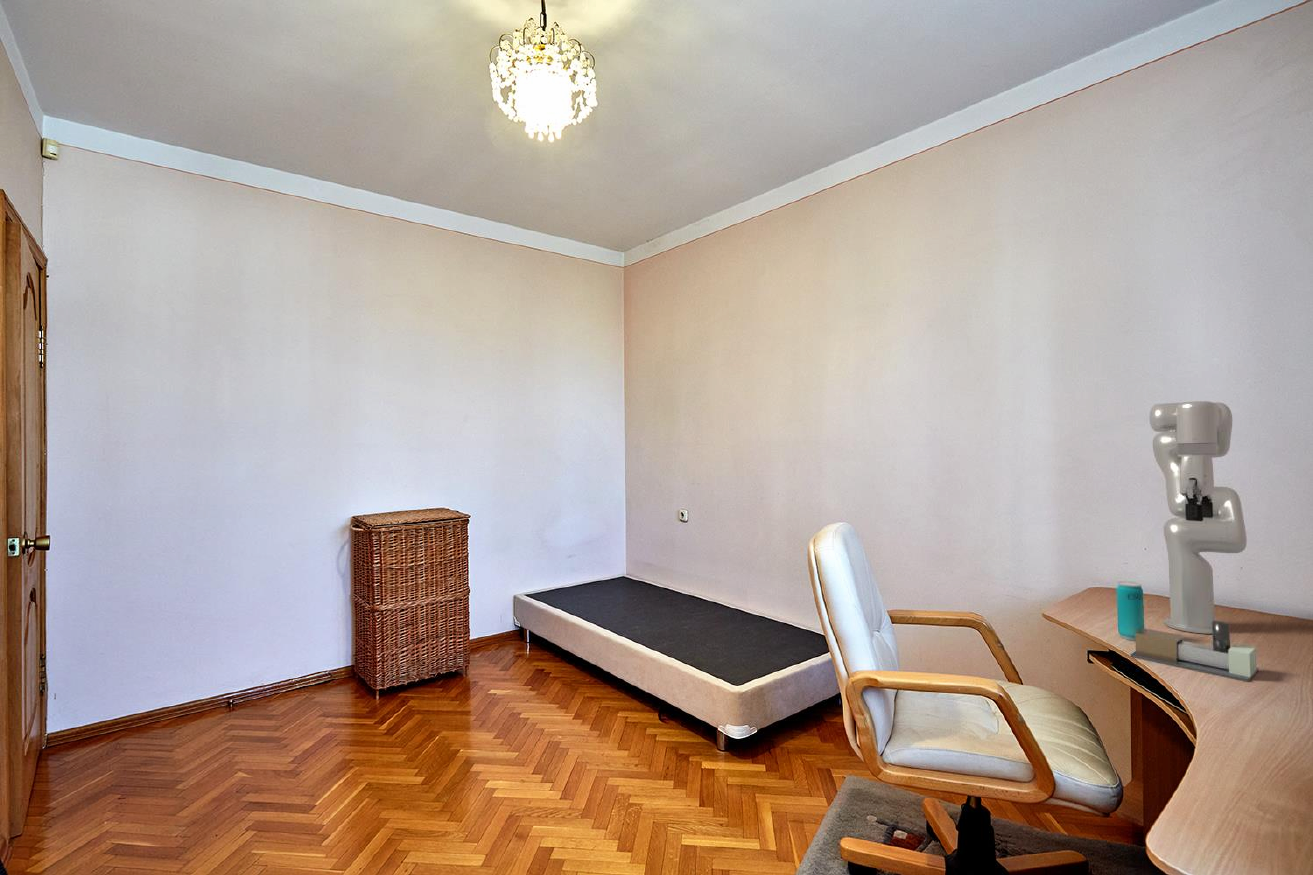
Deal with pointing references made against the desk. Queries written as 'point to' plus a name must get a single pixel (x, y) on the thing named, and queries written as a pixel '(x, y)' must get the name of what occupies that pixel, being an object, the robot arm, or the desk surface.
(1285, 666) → the desk surface
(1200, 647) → the grey slider block
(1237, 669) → the socket
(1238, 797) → the desk surface
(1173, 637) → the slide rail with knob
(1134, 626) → the beverage can
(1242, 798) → the desk surface
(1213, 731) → the desk surface
